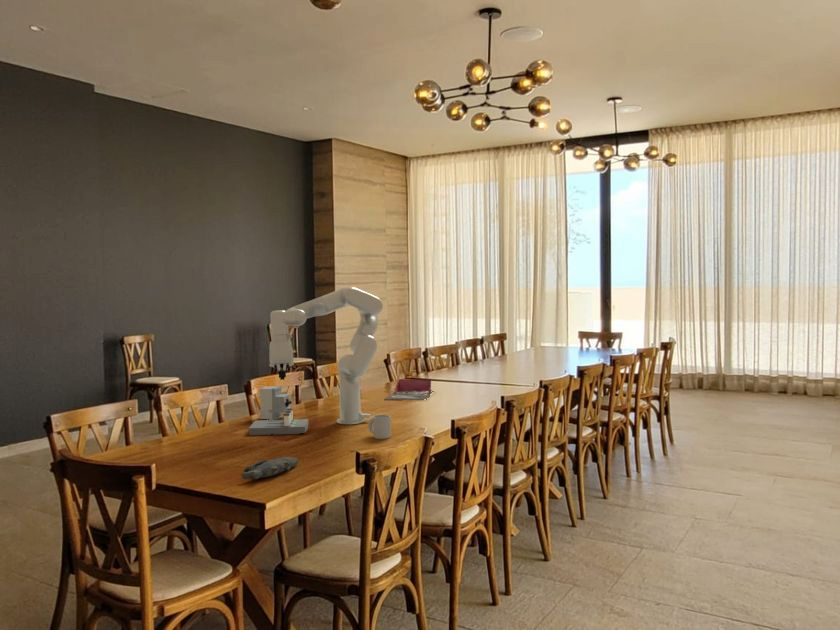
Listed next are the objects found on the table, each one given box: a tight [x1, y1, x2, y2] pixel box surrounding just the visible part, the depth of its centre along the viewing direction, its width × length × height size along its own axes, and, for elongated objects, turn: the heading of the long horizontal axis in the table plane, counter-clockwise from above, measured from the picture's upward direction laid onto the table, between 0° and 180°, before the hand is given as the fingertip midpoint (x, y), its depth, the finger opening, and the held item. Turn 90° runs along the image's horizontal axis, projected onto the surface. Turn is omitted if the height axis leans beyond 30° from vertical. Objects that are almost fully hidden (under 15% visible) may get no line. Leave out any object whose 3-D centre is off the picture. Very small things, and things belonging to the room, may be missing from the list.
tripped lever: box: [283, 412, 290, 426], centre depth 305 cm, size 2×3×5 cm
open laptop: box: [383, 379, 434, 401], centre depth 401 cm, size 24×35×8 cm
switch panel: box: [248, 418, 309, 436], centre depth 311 cm, size 24×17×3 cm
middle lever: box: [284, 410, 291, 423], centre depth 311 cm, size 2×3×5 cm
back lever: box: [287, 407, 294, 420], centre depth 317 cm, size 2×3×5 cm
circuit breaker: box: [258, 385, 292, 420], centre depth 338 cm, size 8×14×15 cm, turn 78°
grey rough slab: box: [241, 456, 299, 480], centre depth 241 cm, size 5×25×15 cm
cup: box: [368, 414, 392, 440], centre depth 294 cm, size 7×10×9 cm
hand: (282, 379), depth 310 cm, fingers closed
